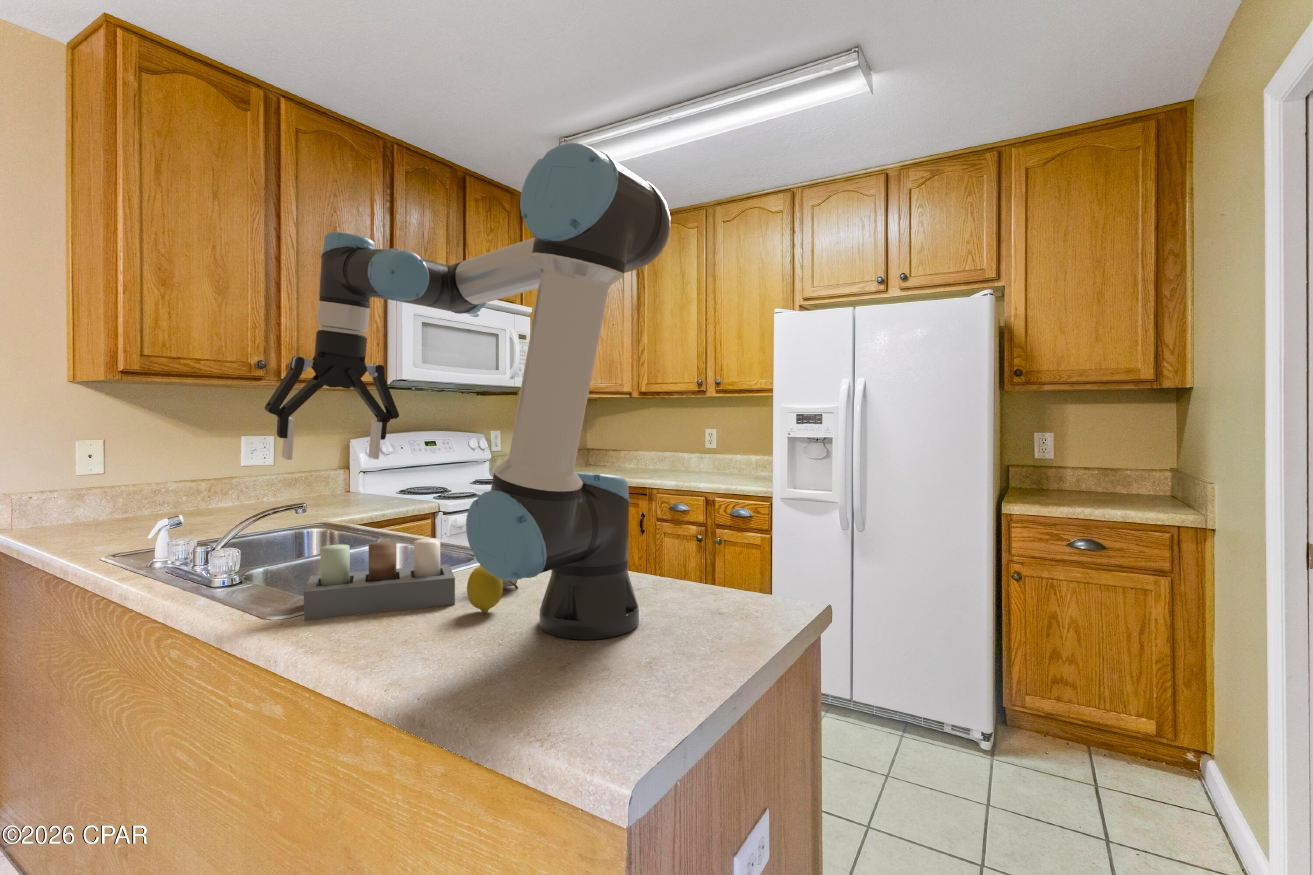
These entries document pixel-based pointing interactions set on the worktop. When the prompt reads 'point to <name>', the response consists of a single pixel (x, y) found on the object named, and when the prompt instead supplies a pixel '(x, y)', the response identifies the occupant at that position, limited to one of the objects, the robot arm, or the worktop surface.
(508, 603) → the worktop surface
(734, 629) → the worktop surface
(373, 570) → the key walnut
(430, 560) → the key ivory
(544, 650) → the worktop surface
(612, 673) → the worktop surface
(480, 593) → the lemon
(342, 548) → the key sage
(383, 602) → the grey slotted block
